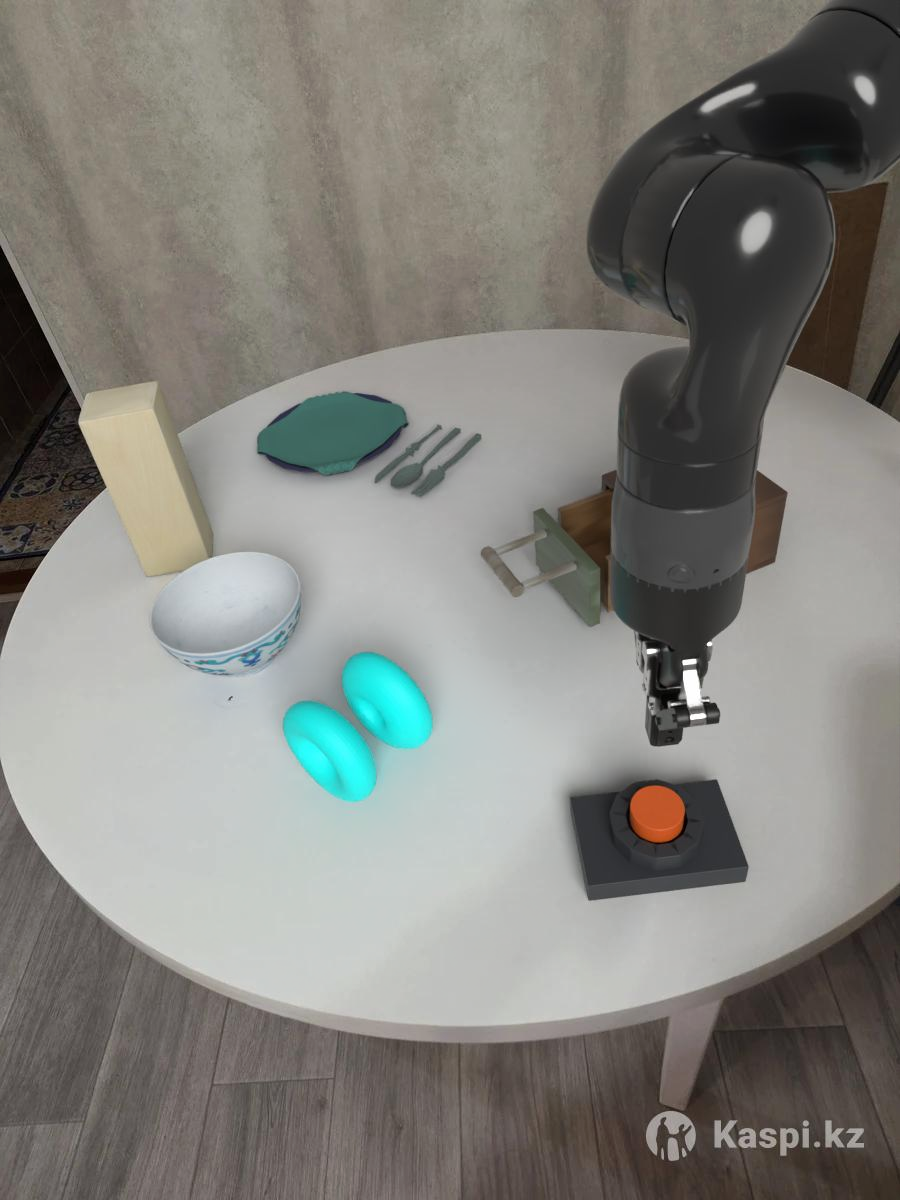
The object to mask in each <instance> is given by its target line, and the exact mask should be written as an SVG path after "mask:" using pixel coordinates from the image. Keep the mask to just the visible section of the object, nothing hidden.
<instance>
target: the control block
mask: <svg viewBox="0 0 900 1200" xmlns="http://www.w3.org/2000/svg"><path fill="white" fill-rule="evenodd" d="M653 785H656V786H663V787H666V788H669V789H671V790H672V791H674V792H675V793H676V794H677V795H678V796H679V797H680V798H681V800H682V801H683V804H684V808H685V813H684V822H683V828H682V830H681V832H680V834H679V835H678V836H677V837H675V838H674V839H672V840H670V841H668V842H663V843H655V842H650V841H647V840H645V839H643V838H642V837H640V836H639V835H638V834H637V833H636V832H635V831H634V830H633V828H632V826H631V823H630V803H631V799H632V797H633V796H634V794H635V793H636V792H637V791H639V790H640V789H642V788H644V787H647V786H653ZM569 801H570V802H569V803H570V804H569V805H570V816H571V821H572V826H573V831H574V835H575V841H576V845H577V850H578V855H579V860H580V866H581V871H582V875H583V880H584V883H585V884H584V885H585V890H586V895H587V899H588V901H590V902H591V901H598V900H609V899H617V898H623V897H632V896H641V895H648V894H649V895H650V894H656V893H657V894H658V893H665V892H674V891H680V890H681V891H682V890H689V889H697V888H698V889H699V888H705V887H713V886H722V885H731V884H740V883H745V882H746V881H747V878H748V873H749V869H750V866H749V863H748V861H747V858H746V855H745V852H744V850H743V847H742V844H741V841H740V839H739V836H738V832H737V830H736V828H735V824H734V822H733V820H732V817H731V814H730V811H729V808H728V805H727V803H726V800H725V797H724V795H723V791H722V789H721V786H720V784H719V781H718V779H716V778H715V779H707V780H701V781H692V782H684V783H677V784H676V783H675V784H674V783H671V782H668V781H664V780H661V779H648V780H640V781H634V782H632V783H630V785H628V786H626V787H625V788H624V789H622V790H620V791H612V792H604V793H597V794H596V793H595V794H588V795H580V796H573V797H572V796H571V797H570V799H569Z"/></svg>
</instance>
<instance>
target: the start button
mask: <svg viewBox="0 0 900 1200" xmlns="http://www.w3.org/2000/svg"><path fill="white" fill-rule="evenodd" d="M684 813H685V808H684V804H683V801H682V800H681V798H680V797H679V796H678V795H677V794H676V793H675V792H674V791H672V790H671V789H669V788H666V787H663V786H656V785H653V786H647V787H644V788H642V789H640V790H639V791H637V792H636V793H635V794H634V796H633V797H632V799H631V803H630V823H631V826H632V828H633V830H634V831H635V832H636V833H637V834H638V835H639V836H640V837H642V838H643V839H645V840H647V841H650V842H655V843H663V842H668V841H670V840H672V839H674V838H675V837H677V836H678V835H679V834H680V832H681V830H682V828H683V822H684Z"/></svg>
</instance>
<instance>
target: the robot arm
mask: <svg viewBox="0 0 900 1200" xmlns="http://www.w3.org/2000/svg"><path fill="white" fill-rule="evenodd" d="M899 162H900V0H828V1H827V2H826V3H825V4H824V5H823V6H822V7H821V8H820V9H819V10H818V11H817V12H816V13H814V15H813V16H812V17H811V18H810V19H809V20H808V21H807V22H806V23H805V24H803V26H801V28H800V29H799V30H797V32H796V33H795V34H794V35H793V36H792V37H791V38H790V40H788V42H786V43H785V44H784V45H782V46H781V47H780V48H778V49H777V50H775V51H773V52H771V53H769V54H768V55H766V56H765V57H764V56H763V58H760V59H758V60H756V61H754V62H753V63H751V64H749V65H747V66H745V67H743V68H742V69H740V70H737V71H736V72H734V73H733V74H732V75H730V76H728V77H726V78H724V79H723V80H722V81H720V82H719V83H717V84H715V85H714V86H711V87H710V88H709V89H707V90H705V91H704V92H703V93H700V94H699V95H698V96H695V97H694V98H693V99H691V100H690V101H688V102H686V103H684V104H683V105H682V106H680V107H678V108H676V109H675V110H674V111H672V112H670V113H669V114H668V115H666V116H665V117H663V118H662V119H660V120H659V121H657V122H656V123H654V125H652V126H651V127H650V128H649V129H647V130H646V131H645V132H643V133H642V134H641V135H640V136H639V137H638V138H637V139H635V141H633V142H632V144H630V146H629V147H628V148H626V150H625V151H624V152H623V153H622V154H621V155H620V157H619V158H618V159H617V160H616V162H615V163H614V165H613V166H612V167H611V168H610V170H609V171H608V173H607V174H606V176H605V177H604V179H603V181H602V182H601V185H600V186H599V189H598V190H597V192H596V195H595V197H594V200H593V203H592V205H591V208H590V212H589V215H588V219H587V224H586V234H585V243H586V252H587V253H586V254H587V258H588V261H589V265H590V267H591V269H592V271H593V272H594V273H593V274H594V275H595V276H596V278H597V279H598V280H599V282H600V283H601V284H602V285H603V286H604V287H605V288H606V289H607V290H609V291H610V292H612V293H613V294H615V295H616V296H617V297H619V298H621V299H623V300H625V301H627V302H629V303H632V304H633V305H637V306H639V307H641V308H643V309H645V310H649V311H651V312H653V313H655V314H658V315H660V316H662V317H664V318H666V319H669V320H670V321H673V322H676V323H678V324H680V325H682V326H684V327H687V331H688V346H676V347H669V348H664V349H660V350H657V351H655V352H652V353H650V354H648V355H646V356H644V357H642V358H641V359H639V360H638V361H637V362H635V364H634V365H633V366H632V367H631V368H630V369H629V371H628V372H627V374H626V375H625V377H624V379H623V381H622V385H621V389H620V392H619V398H618V408H617V435H616V436H617V438H616V444H617V445H616V470H617V475H616V482H615V488H614V493H613V498H612V509H611V556H610V600H611V604H612V607H613V609H614V610H613V611H614V613H615V615H616V616H617V617H618V618H619V619H620V621H621V622H622V623H623V624H624V625H625V626H627V627H628V628H629V629H631V630H632V631H633V634H634V641H635V643H634V644H635V660H636V661H635V662H636V665H637V666H638V668H639V671H640V672H641V673H642V684H641V688H642V689H641V690H642V691H643V692H644V695H645V697H646V700H645V701H646V703H645V716H644V717H645V718H644V719H645V720H644V728H645V729H644V730H645V732H646V735H647V738H648V739H647V740H648V742H649V745H650V746H652V747H657V748H659V747H668V746H676V745H679V744H680V742H682V740H683V735H684V728H692V727H693V728H694V727H702V726H708V725H709V726H710V725H717V724H718V725H719V723H720V718H721V711H720V708H719V706H718V704H717V703H716V702H715V701H714V702H711V697H710V696H709V695H704V696H703V693H702V688H703V685H704V679H705V677H706V676H707V674H708V671H709V662H710V661H711V659H712V654H713V651H714V650H713V649H714V648H713V639H714V638H716V637H717V636H718V635H719V634H721V633H722V632H723V631H725V630H726V629H727V628H729V626H731V625H732V624H733V622H734V621H735V620H736V619H737V617H738V615H739V613H740V610H741V607H742V604H743V596H744V590H745V584H746V578H747V574H746V571H747V565H748V558H749V552H750V545H751V539H752V532H753V526H754V519H755V480H756V473H757V470H758V465H759V459H760V453H761V452H760V451H761V446H762V438H763V431H764V422H765V417H766V412H767V410H768V407H769V405H770V402H771V400H772V397H773V395H774V393H775V390H776V388H777V386H778V384H779V383H780V380H781V377H782V375H783V373H784V371H785V368H786V366H787V364H788V362H789V359H790V356H791V354H792V352H793V350H794V348H795V346H796V344H797V341H798V339H799V338H800V335H801V333H802V331H803V329H804V327H805V325H806V324H807V322H808V319H809V318H810V315H811V314H812V312H813V310H814V308H815V306H816V304H817V301H818V300H819V298H820V296H821V294H822V292H823V289H824V287H825V284H826V282H827V279H828V277H829V275H830V271H831V267H832V264H833V260H834V256H835V255H834V254H835V248H836V247H835V246H836V221H835V216H834V215H835V214H834V210H833V205H832V203H831V199H830V196H829V195H828V194H840V193H841V194H842V193H849V192H853V191H857V190H859V189H861V188H864V187H867V186H868V185H871V184H873V183H874V182H876V181H877V180H878V179H880V178H881V177H883V176H884V175H885V174H886V173H888V172H889V171H890V170H892V169H893V167H894V166H896V164H898V163H899Z"/></svg>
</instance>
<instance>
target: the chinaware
mask: <svg viewBox="0 0 900 1200" xmlns="http://www.w3.org/2000/svg"><path fill="white" fill-rule="evenodd" d="M301 608H302V587H301V582H300V577H299V575H298V573H297V571H296V570H295V568H294V567H293V566H292V565H291V564H290V562H289V563H288V562H287V561H286V560H284V559H283V558H281V557H279V556H276V555H274V554H271V553H267V552H261V551H235V552H229V553H223V554H220V555H216V556H212V558H209V559H207V560H204V561H202V562H199V563H197V564H195V565H193V566H191V567H189V568H188V569H186V570H183V571H180V572H179V573H178V574H177V575H176V576H174V577H173V578H172V579H170V581H168V582H167V584H165V586H164V587H163V588H162V589H161V590H160V591H159V592H158V594H157V596H156V597H155V599H154V601H153V603H152V606H151V608H150V611H149V620H148V621H149V627H150V631H151V633H152V635H153V636H154V638H155V640H156V641H157V642H158V643H159V645H160V646H161V647H162V648H163V649H164V651H166V652H167V653H168V654H169V655H170V656H171V657H173V658H174V659H175V660H176V661H178V663H179V662H180V663H181V664H182V665H184V666H185V667H188V668H189V669H192V670H194V671H197V672H200V673H203V674H207V675H214V676H227V677H233V678H242V677H248V676H251V675H254V674H257V673H258V672H259V673H260V671H262V670H264V669H266V668H267V667H268V666H269V665H270V664H271V663H273V661H274V659H275V658H276V657H277V655H279V654H280V653H281V652H282V651H283V649H284V648H285V647H286V646H287V645H288V643H289V641H290V639H292V636H293V635H294V632H295V630H296V627H297V625H298V623H299V619H300V614H301Z"/></svg>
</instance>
